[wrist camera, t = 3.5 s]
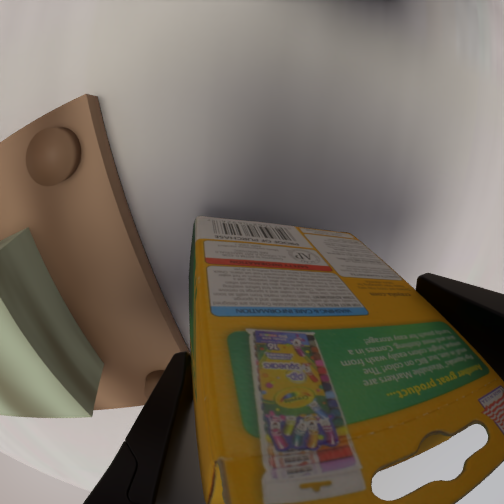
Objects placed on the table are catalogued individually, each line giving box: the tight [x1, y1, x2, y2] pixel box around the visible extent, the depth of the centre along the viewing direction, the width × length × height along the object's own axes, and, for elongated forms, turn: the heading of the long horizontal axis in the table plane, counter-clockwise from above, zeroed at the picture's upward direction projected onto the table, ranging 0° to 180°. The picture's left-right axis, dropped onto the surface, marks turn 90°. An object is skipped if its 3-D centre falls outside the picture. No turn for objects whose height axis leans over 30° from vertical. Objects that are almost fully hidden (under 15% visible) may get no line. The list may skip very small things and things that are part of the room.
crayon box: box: [189, 216, 504, 504], centre depth 8 cm, size 7×3×12 cm, turn 80°
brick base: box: [0, 94, 191, 418], centre depth 11 cm, size 20×18×6 cm
